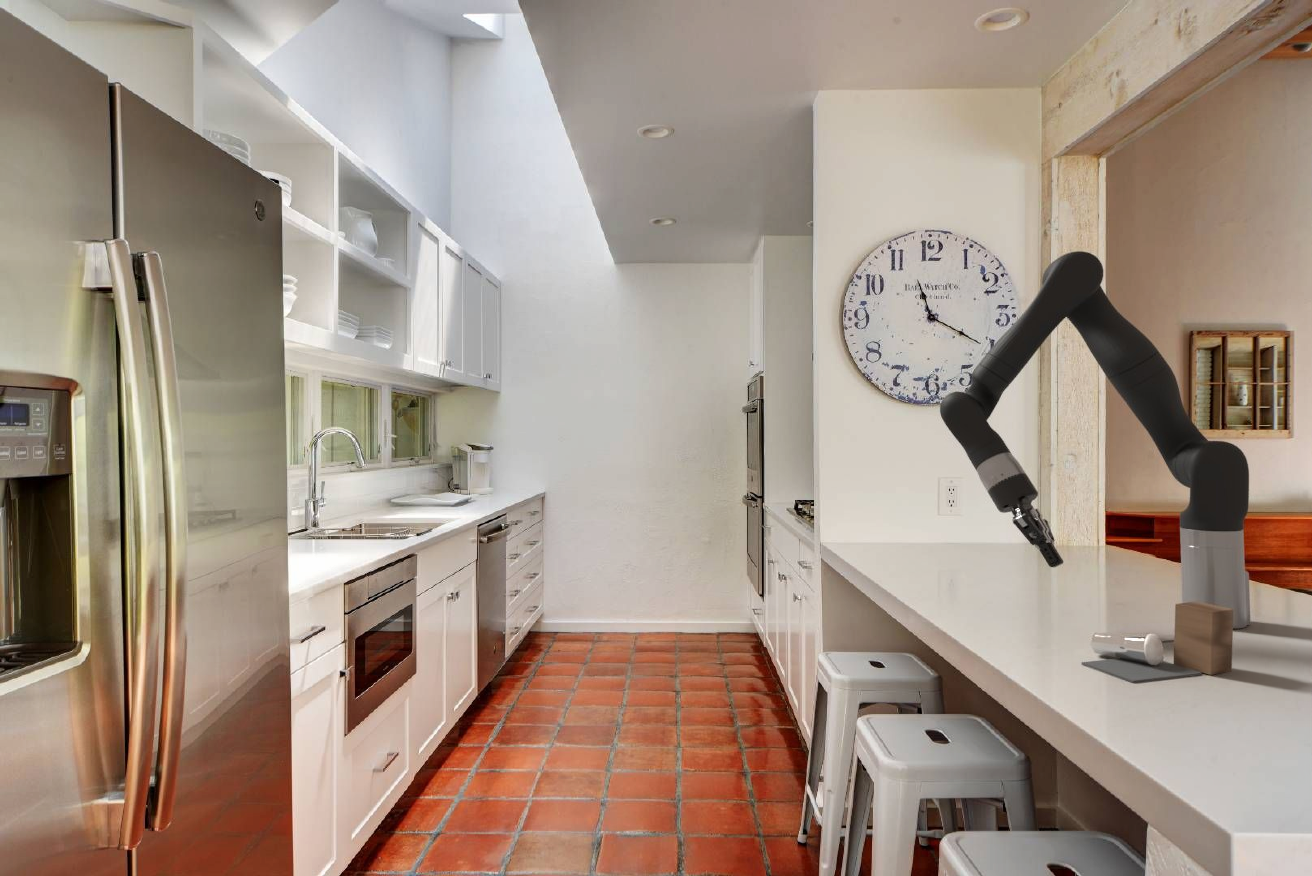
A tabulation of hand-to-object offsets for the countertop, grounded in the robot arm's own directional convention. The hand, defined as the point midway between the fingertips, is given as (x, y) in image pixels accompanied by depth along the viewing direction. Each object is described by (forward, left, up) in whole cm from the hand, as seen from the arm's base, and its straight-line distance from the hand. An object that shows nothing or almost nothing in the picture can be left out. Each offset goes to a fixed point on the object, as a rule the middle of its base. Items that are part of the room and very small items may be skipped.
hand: (1057, 565), depth 129 cm
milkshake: (+5, +13, -10) cm, 17 cm away
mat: (+5, +21, -12) cm, 25 cm away
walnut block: (-4, +23, -12) cm, 26 cm away
